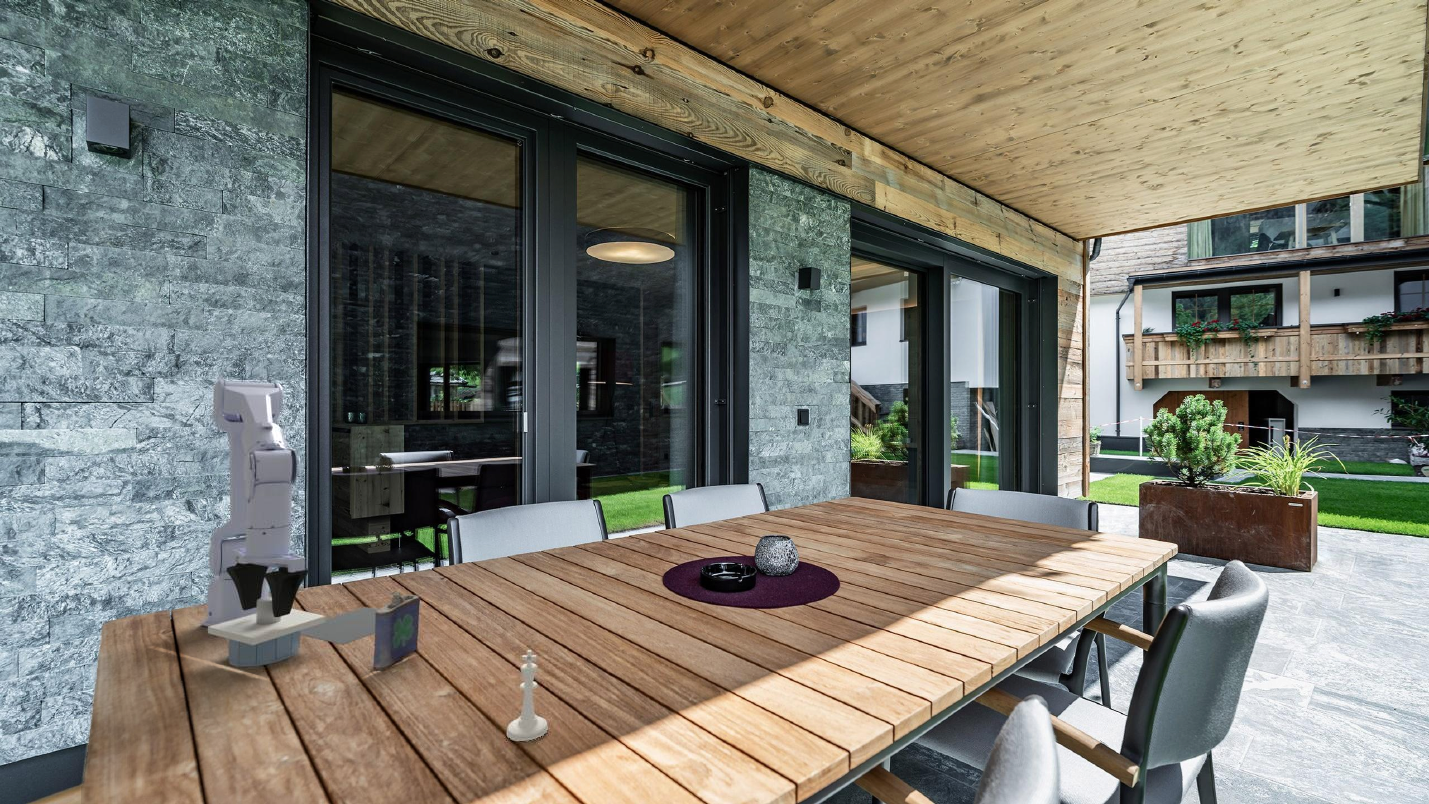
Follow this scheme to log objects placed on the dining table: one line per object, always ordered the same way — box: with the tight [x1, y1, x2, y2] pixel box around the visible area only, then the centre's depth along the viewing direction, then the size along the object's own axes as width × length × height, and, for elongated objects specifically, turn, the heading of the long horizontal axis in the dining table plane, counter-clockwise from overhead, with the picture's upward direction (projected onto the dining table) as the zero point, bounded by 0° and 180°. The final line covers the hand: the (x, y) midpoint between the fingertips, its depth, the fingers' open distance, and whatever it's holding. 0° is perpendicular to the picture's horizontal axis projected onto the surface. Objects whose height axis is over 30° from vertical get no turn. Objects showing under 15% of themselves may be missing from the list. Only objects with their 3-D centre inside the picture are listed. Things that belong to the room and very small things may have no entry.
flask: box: [373, 590, 421, 672], centre depth 98 cm, size 9×3×11 cm, turn 172°
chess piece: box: [506, 649, 549, 742], centre depth 77 cm, size 5×5×10 cm
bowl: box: [228, 630, 301, 668], centre depth 97 cm, size 9×9×4 cm
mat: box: [300, 606, 380, 646], centre depth 112 cm, size 14×15×1 cm
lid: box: [207, 595, 327, 645], centre depth 98 cm, size 11×11×4 cm
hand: (266, 611), depth 97 cm, fingers open, 7 cm apart
